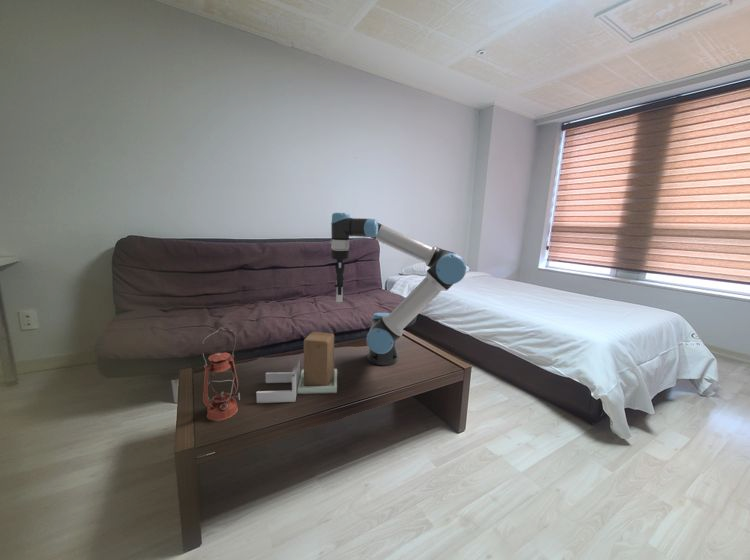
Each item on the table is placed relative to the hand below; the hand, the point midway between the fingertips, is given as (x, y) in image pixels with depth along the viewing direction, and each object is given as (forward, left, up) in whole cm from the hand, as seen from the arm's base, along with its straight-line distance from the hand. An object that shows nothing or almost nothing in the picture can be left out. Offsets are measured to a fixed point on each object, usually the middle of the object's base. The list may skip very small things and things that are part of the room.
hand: (339, 298), depth 133 cm
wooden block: (+8, +14, -32) cm, 36 cm away
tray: (+8, +14, -33) cm, 36 cm away
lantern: (+39, +31, -33) cm, 60 cm away
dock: (+23, +19, -33) cm, 44 cm away
